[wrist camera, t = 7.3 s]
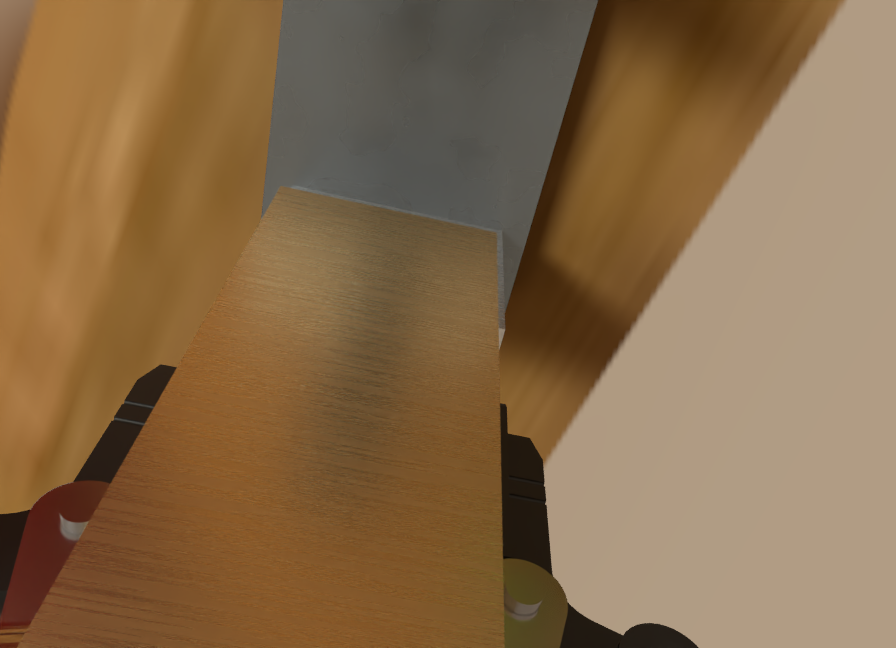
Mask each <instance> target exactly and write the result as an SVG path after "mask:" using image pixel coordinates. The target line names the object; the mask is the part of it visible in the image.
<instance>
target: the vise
mask: <svg viewBox="0 0 896 648" xmlns="http://www.w3.org/2000/svg"><path fill="white" fill-rule="evenodd" d="M597 2H598V0H283V10H282V20H281V30H280V39H279V49H278V59H277V69H276V79H275V89H274V98H273V108H272V118H271V128H270V138H269V147H268V157H267V167H266V177H265V187H264V197H263V206H262V216H261V219H262V218H263V216H264V214H265V212H266V211H267V209H268V207H269V205H270V204H271V202H272V200H273V198H274V197H275V195H276V193H277V191H278V190H279V188H280V186H284V187H288V188H293V189H298V190H302V191H307V192H311V193H316V194H321V195H325V196H330V197H334V198H339V199H344V200H348V201H353V202H357V203H362V204H367V205H371V206H376V207H381V208H385V209H390V210H394V211H399V212H404V213H408V214H413V215H417V216H422V217H427V218H431V219H436V220H440V221H445V222H450V223H454V224H459V225H464V226H468V227H473V228H477V229H482V230H487V231H491V232H496V233H497V269H498V323H499V349H500V346H501V342H502V339H503V336H504V332H505V311H506V308H507V304H508V301H509V298H510V294H511V291H512V288H513V284H514V281H515V278H516V274H517V271H518V268H519V264H520V261H521V257H522V254H523V251H524V247H525V244H526V241H527V237H528V234H529V231H530V227H531V224H532V221H533V217H534V214H535V211H536V207H537V204H538V200H539V197H540V194H541V190H542V187H543V184H544V180H545V177H546V174H547V170H548V167H549V164H550V160H551V157H552V153H553V150H554V147H555V143H556V140H557V137H558V133H559V130H560V127H561V123H562V120H563V117H564V113H565V110H566V106H567V103H568V100H569V96H570V93H571V90H572V86H573V83H574V80H575V76H576V73H577V70H578V66H579V63H580V59H581V56H582V53H583V49H584V46H585V43H586V39H587V36H588V33H589V29H590V26H591V23H592V19H593V16H594V12H595V9H596V6H597Z"/></svg>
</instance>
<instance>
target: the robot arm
mask: <svg viewBox="0 0 896 648" xmlns="http://www.w3.org/2000/svg"><path fill="white" fill-rule="evenodd" d="M176 368H177V367H171V366H166V365H159V366H158V367H156V368H155V369H153V370H152V371H150V372H149V373H147V374H146V375H144V376H143V377H141V378H140V379H138V380H137V381H136V383H135V385H134V386H133V388H132V389H131V391H130V393H129V394H128V396H127V397H126V399H125V402H124V404H122V405H121V407H120V408H119V410H118V412H117V413H116V415H115V416H114V420H113V421H111V423H110V424H109V426H108V428H107V429H106V431H105V432H104V434H103V436H102V437H101V439H100V440H99V442H98V443H97V445H96V447H95V448H94V450H93V451H92V453H91V455H90V456H89V458H88V459H87V461H86V463H85V464H84V466H83V467H82V469H81V471H80V472H79V474H78V475H77V477H76V478H75V480H74V481H73V482H71V483H68V484H64V485H61V486H59V487H57V488H54V489H52V490H51V491H49V492H47V493H46V494H44V495H43V496H42V497H41V498H39V499H38V501H37V502H36V503H35V504H34V505H33V507H32V508H31V510H27V511H23V512H18V513H10V514H0V648H17V647H18V645H19V643H20V642H21V640H22V638H23V636H24V635H25V633H26V631H27V629H28V628H29V626H30V624H31V622H32V621H33V619H34V617H35V615H36V614H37V612H38V610H39V608H40V607H41V605H42V603H43V601H44V600H45V598H46V596H47V594H48V593H49V591H50V589H51V587H52V586H53V584H54V582H55V580H56V578H57V577H58V575H59V573H60V571H61V570H62V568H63V566H64V564H65V563H66V561H67V559H68V557H69V556H70V554H71V552H72V550H73V549H74V547H75V545H76V543H77V542H78V540H79V538H80V536H81V535H82V533H83V531H84V529H85V528H86V526H87V524H88V522H89V521H90V519H91V517H92V515H93V514H94V512H95V510H96V508H97V507H98V505H99V503H100V501H101V500H102V498H103V496H104V494H105V493H106V491H107V489H108V487H109V486H110V484H111V482H112V480H113V479H114V477H115V475H116V473H117V472H118V470H119V468H120V466H121V465H122V463H123V461H124V459H125V458H126V456H127V454H128V452H129V451H130V449H131V447H132V445H133V444H134V442H135V440H136V438H137V437H138V435H139V433H140V431H141V430H142V428H143V426H144V424H145V423H146V421H147V419H148V417H149V416H150V414H151V412H152V410H153V409H154V407H155V405H156V403H157V402H158V400H159V398H160V396H161V395H162V393H163V391H164V389H165V388H166V386H167V384H168V382H169V381H170V379H171V377H172V375H173V374H174V372H175V370H176ZM500 431H501V485H502V539H503V592H504V646H505V648H698V647H697V645H695V644H694V643H693V642H692V641H691V640H690V639H688V638H687V637H686V636H684V635H683V634H681V633H680V632H678V631H676V630H674V629H672V628H669V627H667V626H663V625H660V624H653V623H647V624H646V623H645V624H640V625H636V626H634V627H632V628H630V629H629V630H628V631H626V632H625V634H624V635H621V634H618V633H617V632H614V631H612V630H610V629H608V628H606V627H604V626H602V625H600V624H598V623H595V622H594V621H591V620H590V619H588V618H586V617H585V616H583V615H582V614H580V613H579V612H577V611H576V610H575V609H574V608H573V607H571V605H570V604H569V603H568V602H567V598H566V595H565V593H564V591H563V589H562V587H561V586H560V584H559V583H558V581H557V580H556V579H555V578H554V577H553V575H552V568H551V567H552V566H551V554H550V543H549V530H548V518H547V506H546V505H545V502H546V494H545V487H544V470H543V460H542V458H541V456H540V455H539V453H538V451H537V450H536V448H535V446H534V445H533V443H532V441H531V439H530V438H527V437H522V436H517V435H512V434H508V432H507V407H506V405H505V404H501V403H500Z"/></svg>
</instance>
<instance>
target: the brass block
mask: <svg viewBox="0 0 896 648" xmlns="http://www.w3.org/2000/svg"><path fill="white" fill-rule="evenodd" d="M17 648H505V646H504V592H503V539H502V485H501V431H500V377H499V323H498V269H497V233H496V232H491V231H487V230H482V229H477V228H473V227H468V226H464V225H459V224H454V223H450V222H445V221H440V220H436V219H431V218H427V217H422V216H417V215H413V214H408V213H404V212H399V211H394V210H390V209H385V208H381V207H376V206H371V205H367V204H362V203H357V202H353V201H348V200H344V199H339V198H334V197H330V196H325V195H321V194H316V193H311V192H307V191H302V190H298V189H293V188H288V187H284V186H280V188H279V190H278V191H277V193H276V195H275V197H274V198H273V200H272V202H271V204H270V205H269V207H268V209H267V211H266V212H265V214H264V216H263V218H262V219H261V221H260V223H259V225H258V226H257V228H256V230H255V232H254V233H253V235H252V237H251V239H250V240H249V242H248V244H247V246H246V247H245V249H244V251H243V253H242V254H241V256H240V258H239V260H238V261H237V263H236V265H235V267H234V268H233V270H232V272H231V274H230V275H229V277H228V279H227V281H226V282H225V284H224V286H223V288H222V289H221V291H220V293H219V295H218V296H217V298H216V300H215V302H214V303H213V305H212V307H211V309H210V310H209V312H208V314H207V316H206V317H205V319H204V321H203V323H202V324H201V326H200V328H199V330H198V331H197V333H196V335H195V337H194V338H193V340H192V342H191V344H190V345H189V347H188V349H187V351H186V352H185V354H184V356H183V358H182V359H181V361H180V363H179V365H178V367H177V368H176V370H175V372H174V374H173V375H172V377H171V379H170V381H169V382H168V384H167V386H166V388H165V389H164V391H163V393H162V395H161V396H160V398H159V400H158V402H157V403H156V405H155V407H154V409H153V410H152V412H151V414H150V416H149V417H148V419H147V421H146V423H145V424H144V426H143V428H142V430H141V431H140V433H139V435H138V437H137V438H136V440H135V442H134V444H133V445H132V447H131V449H130V451H129V452H128V454H127V456H126V458H125V459H124V461H123V463H122V465H121V466H120V468H119V470H118V472H117V473H116V475H115V477H114V479H113V480H112V482H111V484H110V486H109V487H108V489H107V491H106V493H105V494H104V496H103V498H102V500H101V501H100V503H99V505H98V507H97V508H96V510H95V512H94V514H93V515H92V517H91V519H90V521H89V522H88V524H87V526H86V528H85V529H84V531H83V533H82V535H81V536H80V538H79V540H78V542H77V543H76V545H75V547H74V549H73V550H72V552H71V554H70V556H69V557H68V559H67V561H66V563H65V564H64V566H63V568H62V570H61V571H60V573H59V575H58V577H57V578H56V580H55V582H54V584H53V586H52V587H51V589H50V591H49V593H48V594H47V596H46V598H45V600H44V601H43V603H42V605H41V607H40V608H39V610H38V612H37V614H36V615H35V617H34V619H33V621H32V622H31V624H30V626H29V628H28V629H27V631H26V633H25V635H24V636H23V638H22V640H21V642H20V643H19V645H18V647H17Z"/></svg>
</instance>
